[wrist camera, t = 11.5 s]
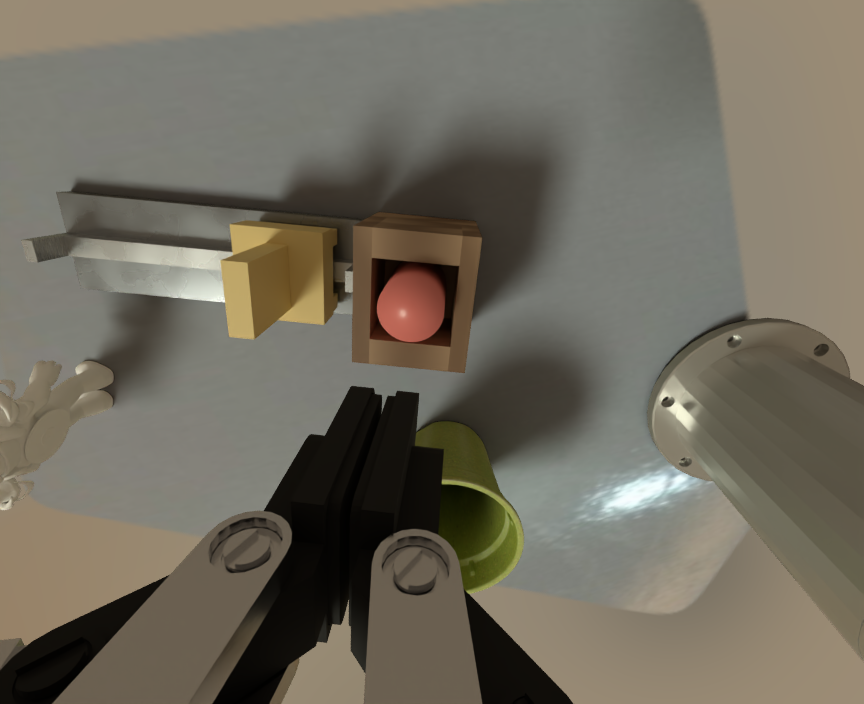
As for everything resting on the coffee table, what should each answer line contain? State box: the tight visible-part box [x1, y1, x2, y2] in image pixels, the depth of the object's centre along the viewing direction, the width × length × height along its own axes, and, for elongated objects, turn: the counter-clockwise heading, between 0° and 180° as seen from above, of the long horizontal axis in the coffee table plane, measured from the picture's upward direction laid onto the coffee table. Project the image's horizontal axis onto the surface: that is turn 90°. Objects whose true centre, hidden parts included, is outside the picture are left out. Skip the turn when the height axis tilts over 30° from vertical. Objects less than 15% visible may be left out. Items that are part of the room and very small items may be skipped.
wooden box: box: [352, 212, 482, 373], centre depth 24 cm, size 6×7×7 cm
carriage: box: [220, 220, 338, 339], centre depth 22 cm, size 5×5×8 cm
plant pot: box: [415, 421, 524, 594], centre depth 29 cm, size 9×9×9 cm
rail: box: [21, 191, 365, 315], centre depth 26 cm, size 19×6×4 cm, turn 85°
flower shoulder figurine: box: [0, 361, 114, 510], centre depth 26 cm, size 9×4×12 cm, turn 158°
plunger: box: [377, 261, 446, 342], centre depth 22 cm, size 3×3×5 cm
